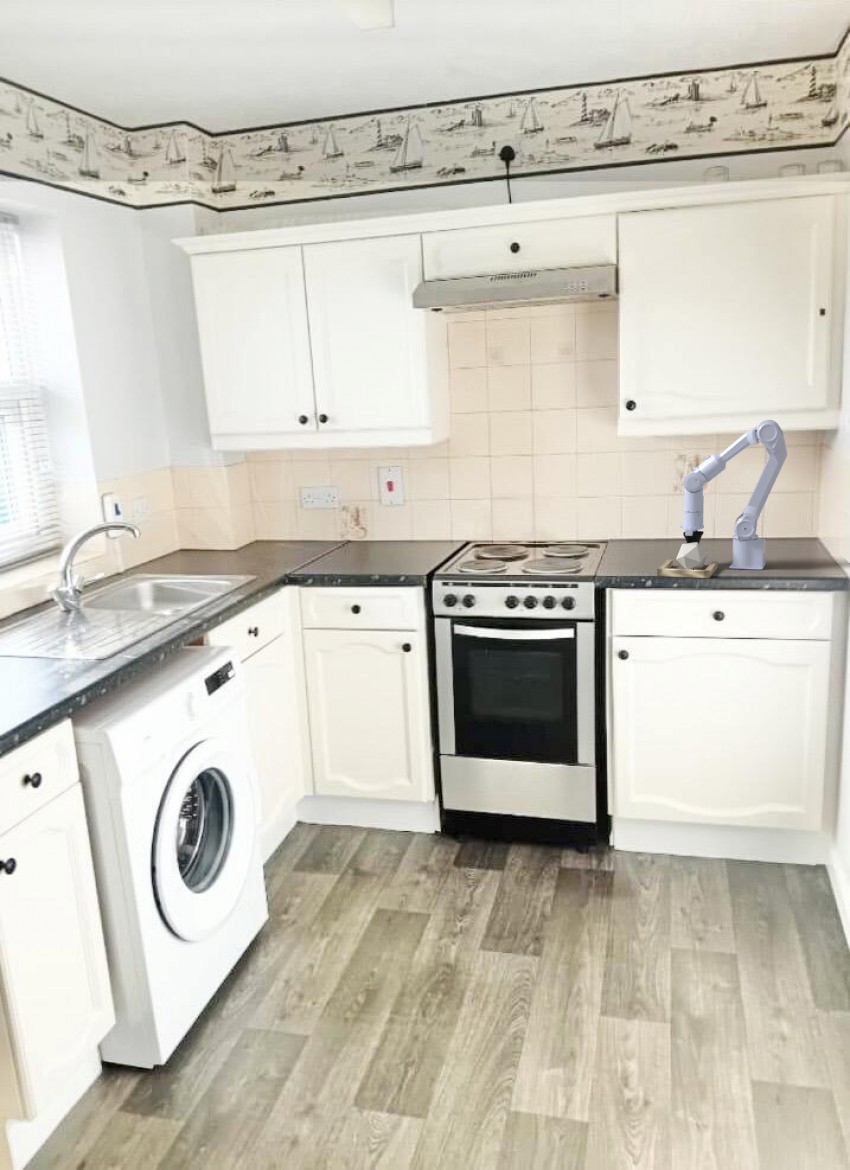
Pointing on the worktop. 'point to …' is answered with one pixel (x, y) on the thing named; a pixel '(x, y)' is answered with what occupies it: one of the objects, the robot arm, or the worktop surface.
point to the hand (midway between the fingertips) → (693, 554)
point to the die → (692, 556)
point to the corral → (686, 570)
